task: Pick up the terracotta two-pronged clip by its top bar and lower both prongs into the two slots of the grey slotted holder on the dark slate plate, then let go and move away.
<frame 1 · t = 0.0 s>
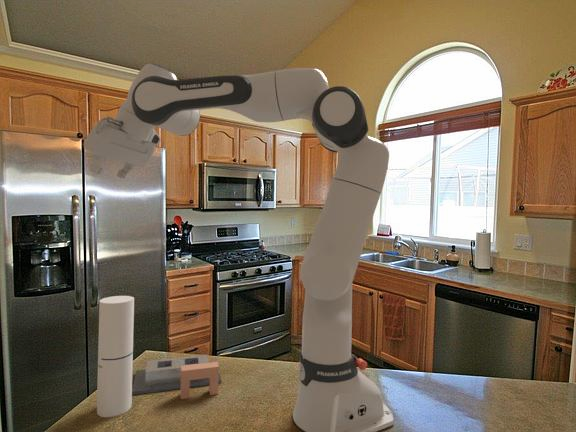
hand: (108, 175, 86), 54 cm above the countertop, tool tilted 30°, fingers open, 8 cm apart
grey slotted holder: (177, 378, 93), on the countertop
cylindrical container: (114, 409, 78), on the countertop
clip: (199, 394, 85), on the countertop
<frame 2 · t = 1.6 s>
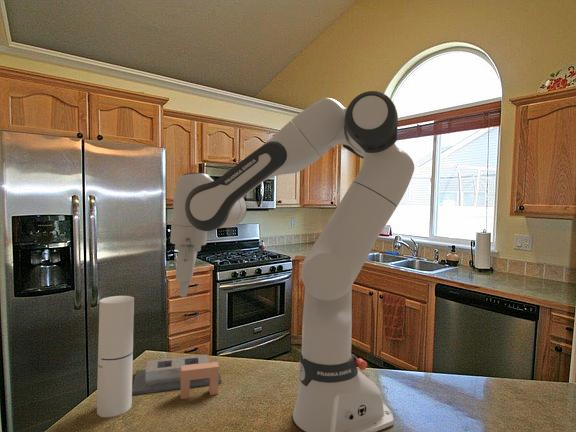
hand: (184, 290, 87), 25 cm above the countertop, tool pointing down, fingers open, 8 cm apart
nothing on the countertop moved.
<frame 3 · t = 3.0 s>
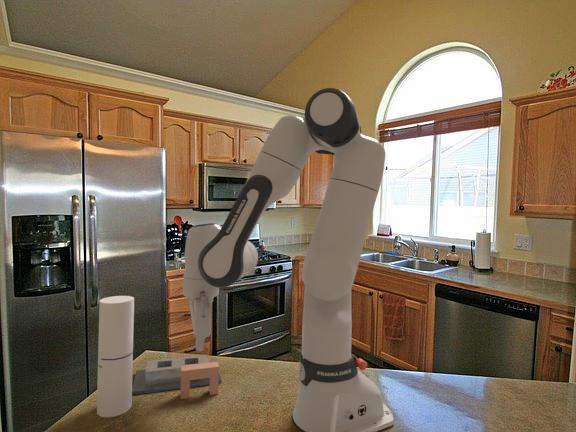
hand: (198, 342, 86), 13 cm above the countertop, tool pointing down, fingers open, 8 cm apart
nothing on the countertop moved.
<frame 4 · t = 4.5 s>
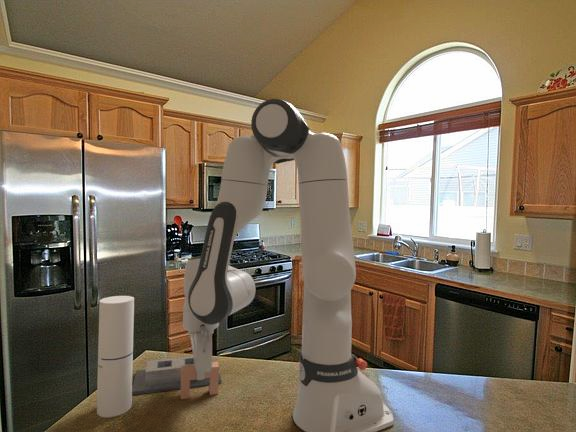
hand: (199, 374, 85), 5 cm above the countertop, tool pointing down, fingers closed on clip, 3 cm apart
clip: (199, 394, 85), on the countertop, touching gripper
everything else where it was.
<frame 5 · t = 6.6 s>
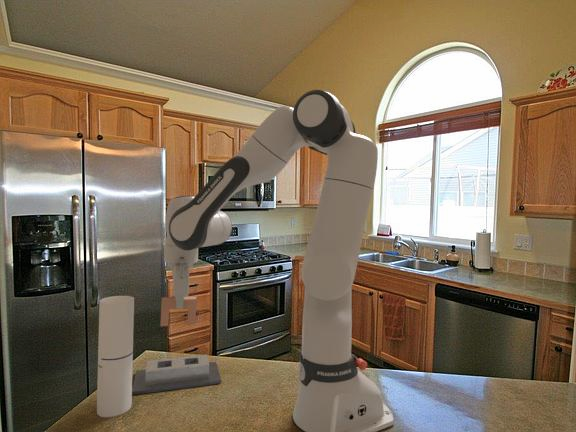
hand: (179, 305, 93), 20 cm above the countertop, tool pointing down, fingers closed on clip, 3 cm apart
clip: (178, 323, 93), point 15 cm above the countertop, touching gripper
everything else where it was.
when the fingers open (6 cm above the countertop, at t = 9.0 s): clip stays where it is, resting on grey slotted holder.
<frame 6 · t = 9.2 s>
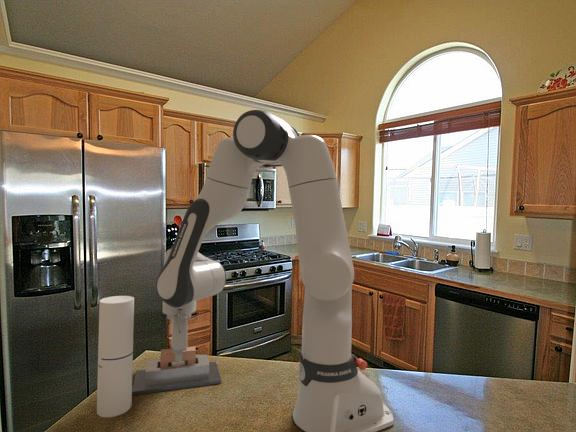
hand: (178, 355, 93), 6 cm above the countertop, tool pointing down, fingers open, 5 cm apart
clip: (177, 375, 93), point 1 cm above the countertop, touching grey slotted holder
everything else where it was.
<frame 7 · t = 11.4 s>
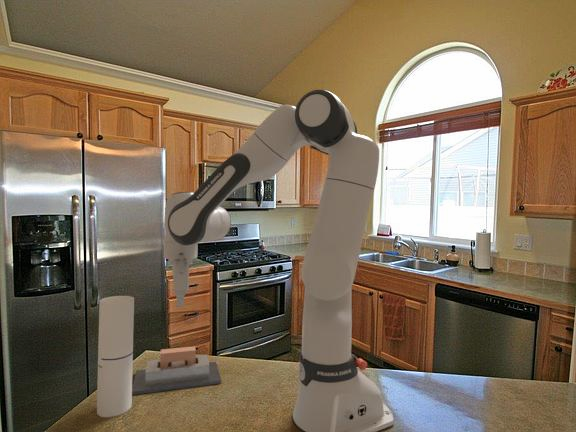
hand: (179, 302, 93), 21 cm above the countertop, tool pointing down, fingers open, 8 cm apart
nothing on the countertop moved.
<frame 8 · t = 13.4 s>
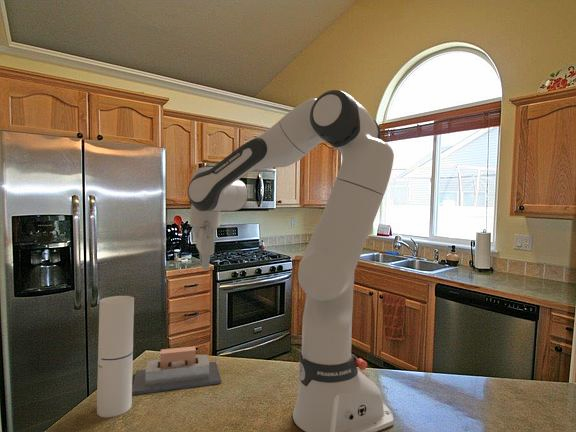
hand: (204, 266, 103), 29 cm above the countertop, tool pointing down, fingers open, 8 cm apart
nothing on the countertop moved.
at the end: clip 0.1 cm off-centre on the grey slotted holder, point 0.8 cm above the grey slotted holder's base; clip tilted 0°; the gripper is holding nothing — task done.
